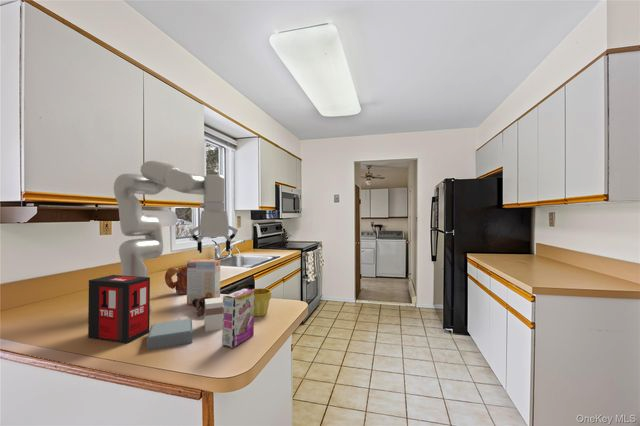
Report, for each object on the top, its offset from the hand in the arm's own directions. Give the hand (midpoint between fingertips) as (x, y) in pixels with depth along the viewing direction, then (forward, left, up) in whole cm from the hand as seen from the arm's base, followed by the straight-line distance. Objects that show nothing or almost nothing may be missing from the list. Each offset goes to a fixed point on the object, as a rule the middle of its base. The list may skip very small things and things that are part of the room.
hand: (214, 251), depth 108 cm
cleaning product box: (-31, +5, -29) cm, 42 cm away
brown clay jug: (-3, +17, -29) cm, 34 cm away
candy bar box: (+7, -16, -29) cm, 34 cm away
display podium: (-14, -5, -29) cm, 32 cm away
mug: (-13, +53, -29) cm, 62 cm away
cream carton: (0, 0, -29) cm, 29 cm away
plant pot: (+19, +7, -29) cm, 35 cm away
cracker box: (-2, +31, -29) cm, 42 cm away
